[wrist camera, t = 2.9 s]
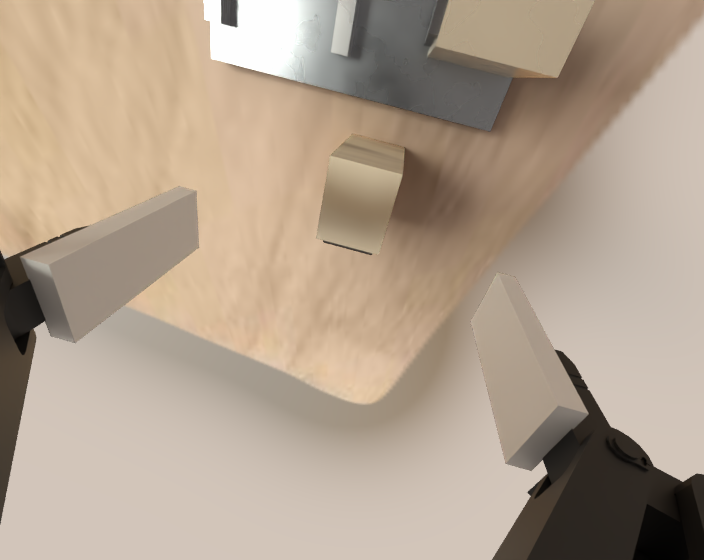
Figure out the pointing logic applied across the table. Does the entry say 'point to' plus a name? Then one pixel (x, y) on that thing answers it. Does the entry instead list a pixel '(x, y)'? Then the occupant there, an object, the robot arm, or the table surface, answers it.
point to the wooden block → (360, 193)
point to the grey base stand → (402, 47)
